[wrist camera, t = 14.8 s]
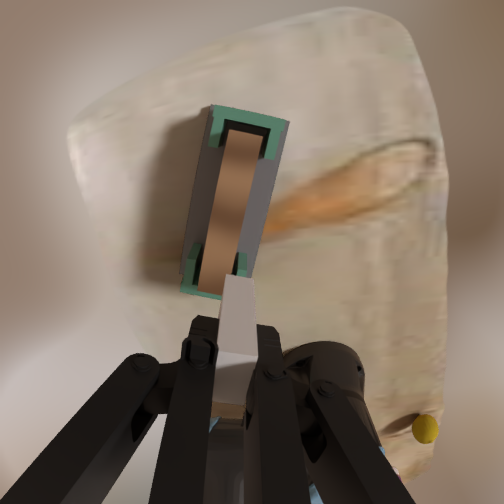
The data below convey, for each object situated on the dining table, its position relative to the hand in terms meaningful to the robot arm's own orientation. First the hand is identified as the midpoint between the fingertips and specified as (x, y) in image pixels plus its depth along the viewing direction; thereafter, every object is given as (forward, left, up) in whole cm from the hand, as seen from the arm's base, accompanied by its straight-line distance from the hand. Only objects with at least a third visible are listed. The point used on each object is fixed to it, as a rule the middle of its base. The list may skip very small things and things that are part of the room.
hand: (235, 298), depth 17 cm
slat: (+1, +1, -21) cm, 21 cm away
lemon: (-34, -46, -23) cm, 62 cm away
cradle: (+1, +1, -23) cm, 23 cm away
